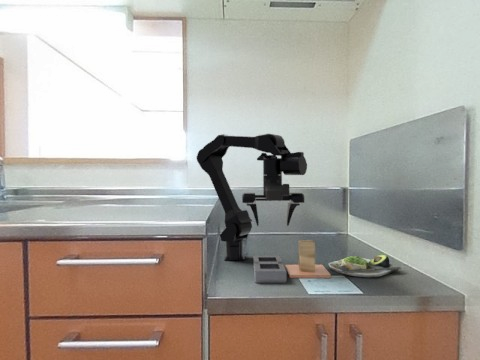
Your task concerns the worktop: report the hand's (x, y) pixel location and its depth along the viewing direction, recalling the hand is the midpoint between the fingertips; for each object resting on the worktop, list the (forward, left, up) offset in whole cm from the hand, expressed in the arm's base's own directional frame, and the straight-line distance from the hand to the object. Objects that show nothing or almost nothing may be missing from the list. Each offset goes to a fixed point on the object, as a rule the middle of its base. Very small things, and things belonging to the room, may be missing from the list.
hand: (272, 225), depth 115 cm
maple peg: (+9, +9, -11) cm, 17 cm away
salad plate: (+6, +26, -13) cm, 30 cm away
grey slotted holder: (+10, -2, -12) cm, 16 cm away
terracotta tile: (+9, +9, -12) cm, 17 cm away
